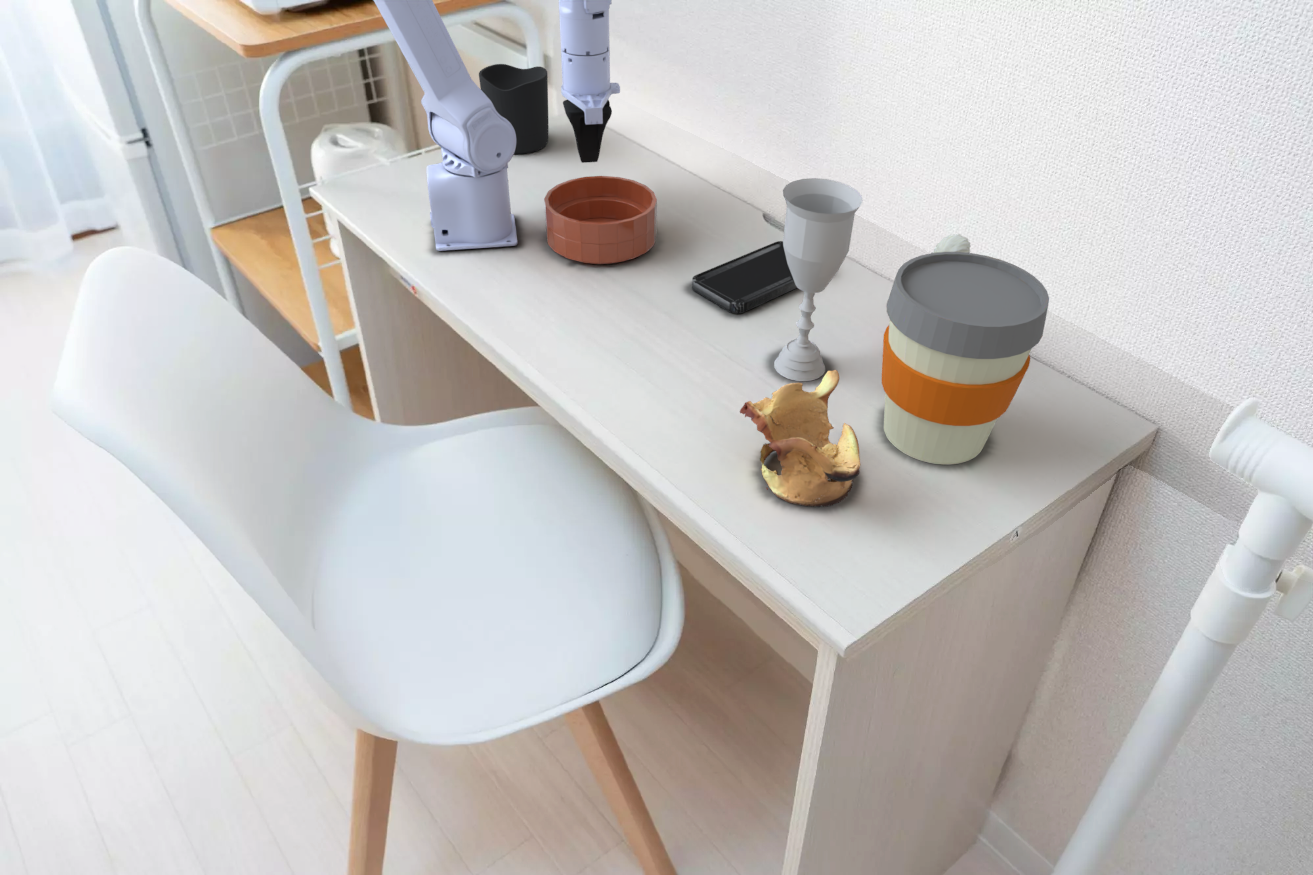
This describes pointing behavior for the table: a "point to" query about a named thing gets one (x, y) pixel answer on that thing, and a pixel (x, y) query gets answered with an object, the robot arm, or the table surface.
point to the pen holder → (520, 102)
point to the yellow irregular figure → (805, 445)
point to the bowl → (601, 219)
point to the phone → (747, 279)
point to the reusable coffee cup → (956, 351)
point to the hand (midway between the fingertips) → (588, 160)
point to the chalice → (814, 259)
